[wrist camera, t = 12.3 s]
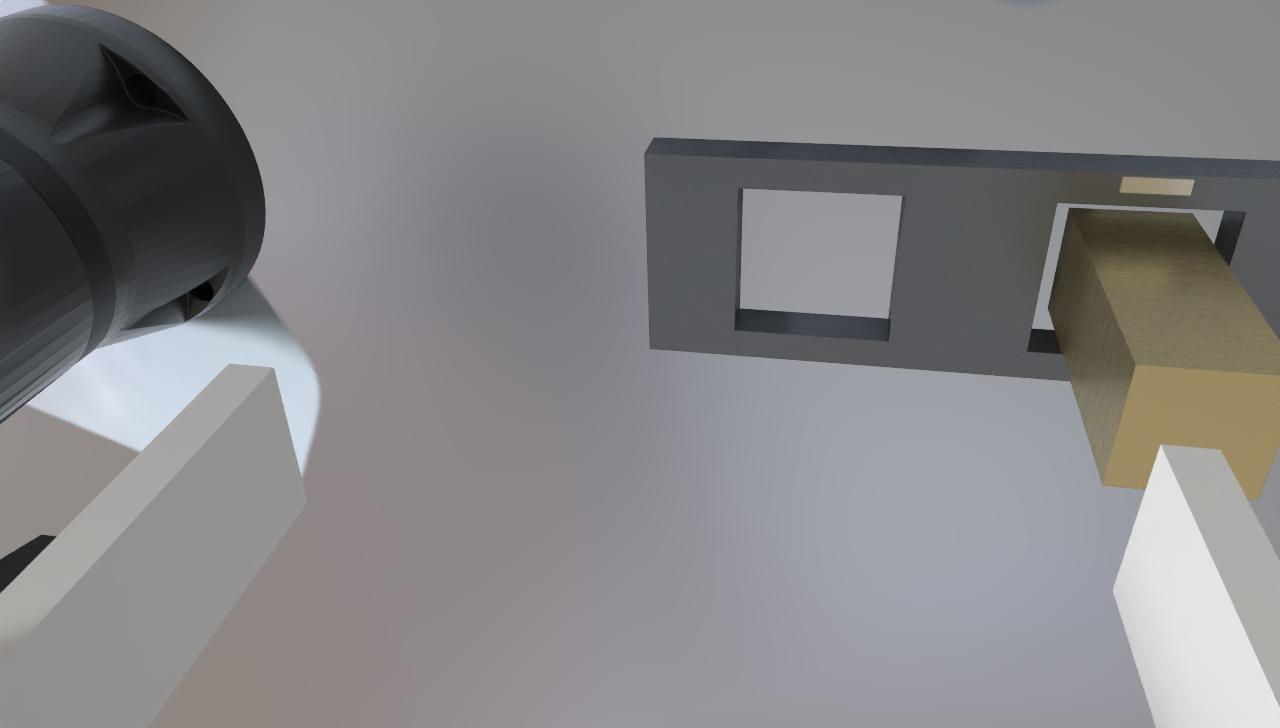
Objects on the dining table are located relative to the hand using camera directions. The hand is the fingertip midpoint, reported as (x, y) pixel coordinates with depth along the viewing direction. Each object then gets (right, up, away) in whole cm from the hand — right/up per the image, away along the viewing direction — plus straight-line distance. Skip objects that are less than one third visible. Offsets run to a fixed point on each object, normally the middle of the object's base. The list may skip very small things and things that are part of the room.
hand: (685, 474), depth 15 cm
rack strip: (+13, +6, +26) cm, 29 cm away
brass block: (+19, +6, +25) cm, 31 cm away
